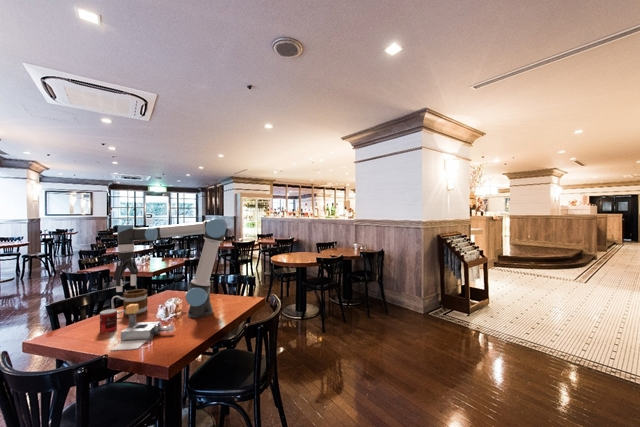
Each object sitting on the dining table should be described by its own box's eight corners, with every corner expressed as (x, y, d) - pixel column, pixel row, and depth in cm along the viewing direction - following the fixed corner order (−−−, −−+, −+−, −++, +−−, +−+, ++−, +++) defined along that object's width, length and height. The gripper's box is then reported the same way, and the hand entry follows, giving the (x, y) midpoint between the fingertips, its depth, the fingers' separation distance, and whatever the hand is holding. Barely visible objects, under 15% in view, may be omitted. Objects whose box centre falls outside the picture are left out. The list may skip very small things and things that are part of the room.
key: (138, 328, 159) (138, 303, 160) (134, 331, 155) (134, 306, 155) (130, 328, 159) (130, 304, 159) (126, 331, 155) (126, 306, 155)
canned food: (105, 328, 160) (105, 309, 160) (120, 327, 160) (120, 308, 161) (96, 333, 152) (96, 313, 152) (111, 333, 153) (111, 313, 153)
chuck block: (176, 329, 157) (176, 319, 157) (168, 338, 145) (168, 328, 145) (133, 331, 154) (133, 322, 154) (120, 341, 142) (120, 330, 142)
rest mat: (146, 340, 143) (146, 339, 143) (137, 349, 134) (137, 348, 134) (121, 342, 142) (121, 341, 142) (110, 350, 133) (110, 349, 133)
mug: (147, 309, 191) (147, 287, 191) (148, 315, 180) (148, 292, 180) (112, 315, 180) (112, 292, 180) (110, 322, 169) (110, 297, 169)
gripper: (131, 249, 171) (132, 283, 171) (104, 254, 146) (105, 295, 146) (144, 248, 171) (145, 282, 171) (119, 254, 147) (120, 294, 147)
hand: (126, 288), depth 159 cm, fingers open, 13 cm apart
